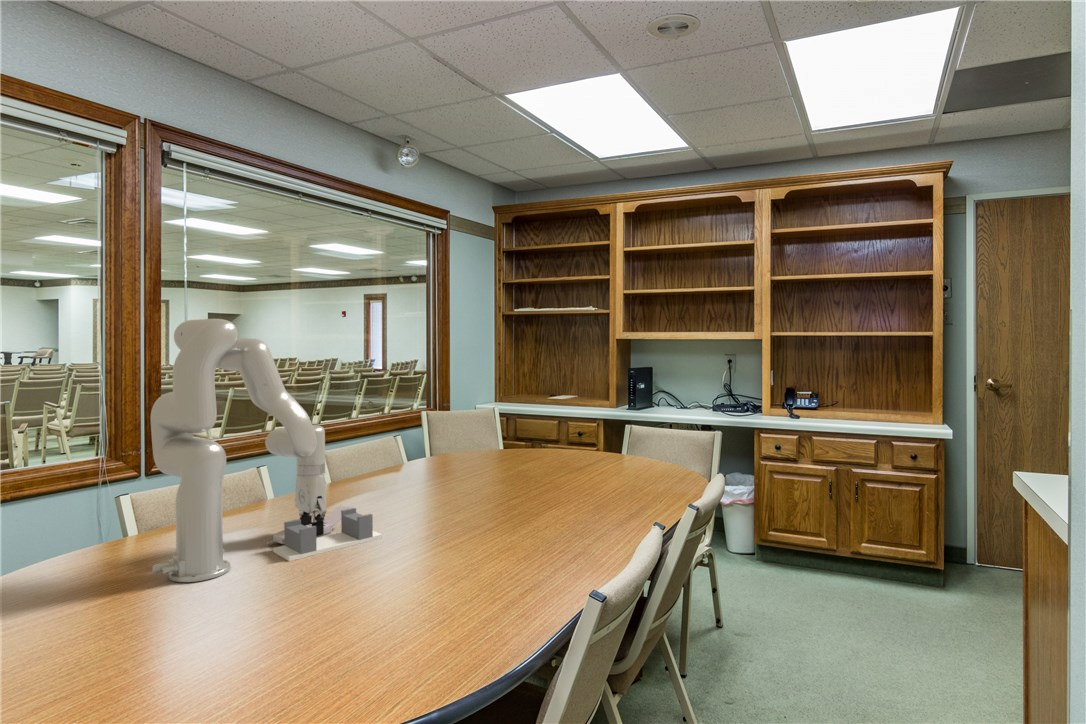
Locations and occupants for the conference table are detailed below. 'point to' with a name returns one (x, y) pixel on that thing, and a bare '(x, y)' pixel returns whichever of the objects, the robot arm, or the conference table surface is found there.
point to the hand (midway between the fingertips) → (311, 532)
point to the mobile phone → (328, 525)
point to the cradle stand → (306, 544)
